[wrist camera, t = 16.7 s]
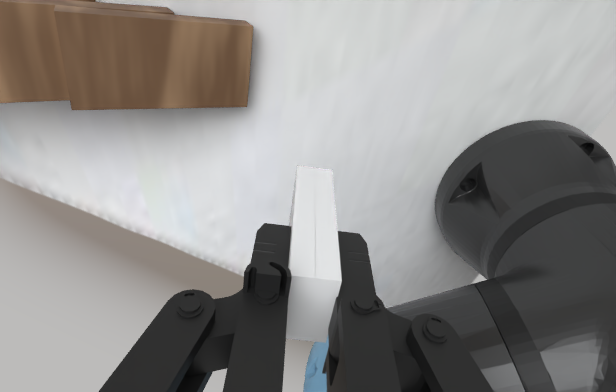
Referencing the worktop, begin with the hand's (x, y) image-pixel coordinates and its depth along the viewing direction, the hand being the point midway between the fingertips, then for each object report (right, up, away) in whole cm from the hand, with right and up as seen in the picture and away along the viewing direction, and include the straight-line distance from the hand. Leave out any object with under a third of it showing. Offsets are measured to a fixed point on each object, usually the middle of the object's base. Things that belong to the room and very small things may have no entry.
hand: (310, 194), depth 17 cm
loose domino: (-5, +10, +13) cm, 17 cm away
